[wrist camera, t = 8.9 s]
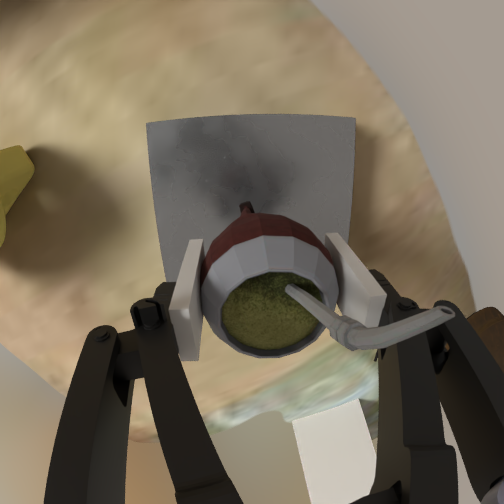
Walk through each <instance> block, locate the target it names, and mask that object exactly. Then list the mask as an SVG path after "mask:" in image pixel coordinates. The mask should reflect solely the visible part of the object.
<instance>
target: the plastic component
mask: <svg viewBox="0 0 504 504" xmlns="http://www.w3.org/2000/svg"><path fill="white" fill-rule="evenodd" d="M34 169H35V167H34V164H33V163H32V161H31V160H30V158H29V157H28V155H27V154H26V152H25V151H24V149H23V148H22V146H20V145H17V146H13V147H10V148H6V149H3V150H0V247H1V246H2V244H3V242H4V239H5V234H6V219H5V216H6V214H7V213H8V211H9V209H10V208H11V206H12V205H13V203H14V202H15V200H16V199H17V197H18V196H19V194H20V193H21V192H22V190H23V189H24V187H25V186H26V184H27V183H28V182H29V180H30V179H31V177H32V176H33V174H34Z"/></svg>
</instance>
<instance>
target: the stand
mask: <svg viewBox="0 0 504 504" xmlns="http://www.w3.org/2000/svg"><path fill="white" fill-rule="evenodd" d="M355 125H356V118H352V117H339V116H324V115H301V114H246V115H223V116H208V117H195V118H184V119H175V120H166V121H158V122H151V123H146V129H147V142H148V154H149V165H150V174H151V183H152V192H153V200H154V208H155V215H156V222H157V229H158V235H159V242H160V248H161V254H162V260H163V266H164V271H165V277H166V282H177V279H178V276H179V272H180V269H181V266H182V263H183V259H184V256H185V253H186V250H187V247H188V244H189V240H192V239H203V243H204V252H205V256H206V254H207V252H208V250H209V247H210V245H211V243H212V241H213V240H214V239H215V238H216V237H217V236H219V235H220V234H221V233H222V232H223V231H224V230H225V229H226V228H227V227H228V226H229V225H230V224H231V223H232V222H233V221H235V220H236V219H237V218H239V217H240V215H241V212H240V208H239V205H240V204H241V203H243V202H246V201H250V202H251V204H252V207H253V209H254V212H255V213H266V214H276V215H282V216H286V217H288V218H290V219H292V220H294V221H296V222H298V223H300V224H302V225H304V226H306V227H308V228H309V229H310V230H311V231H312V232H313V233H314V234H315V235H316V237H317V238H318V239H319V240H320V241H321V242H322V244H323V245H325V233H338V234H339V235H340V236H341V237H342V239H343V240H344V241H345V242H346V243H347V245H348V238H349V228H350V217H351V206H352V193H353V178H354V158H355Z"/></svg>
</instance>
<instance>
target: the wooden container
mask: <svg viewBox="0 0 504 504" xmlns="http://www.w3.org/2000/svg"><path fill="white" fill-rule="evenodd" d="M467 320H468V322H469V323H470V324H471V326H472V327H473V329H474V330H475V331H476V333H477V334H478V336H479V337H480V338H481V340H482V341H483V343H484V344H485V346H486V347H487V349H488V350H489V352H490V353H491V355H492V356H493V358H494V359H495V361H496V362H497V364H498V365H499V367H500V369H501V370H502V372H503V373H504V316H503V314H501V312H500V311H499V310H498V309H496V308H494V307H487V308H484V309H482V310H479V311H478V312H476V313H475V314H473V315H472V316H470V317H469V318H468V319H467ZM445 347H446V349H447V350H449V345H448V343H447V344H446V346H445Z"/></svg>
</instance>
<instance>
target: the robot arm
mask: <svg viewBox="0 0 504 504" xmlns="http://www.w3.org/2000/svg"><path fill="white" fill-rule="evenodd" d="M324 246H325V247H326V248H327V249H328V251H329V253H330V255H331V257H332V260H333V265H334V269H335V274H336V278H337V283H338V287H339V294H338V299H337V305H338V307H339V309H340V311H341V313H342V315H343V316H344V315H346V316H348V317H350V318H352V319H354V320H357V321H359V322H360V323H362V324H363V325H364V326H366V327H367V328H372V327H381V326H386V325H389V324H392V323H395V322H398V321H401V320H403V319H406V318H409V317H412V316H414V315H417V314H419V313H422V312H425V311H427V310H430V309H420V308H419V307H418V305H417V303H416V302H414V301H413V300H411V299H409V298H405V297H401V296H400V295H399V294H398V293H397V291H396V290H395V289H394V288H393V286H392V285H390V283H389V281H388V280H387V279H386V278H385V277H384V275H383V274H382V273H380V272H378V271H377V270H375V269H373V270H368V269H367V268H366V267H365V266H364V264H363V263H362V262H361V261H360V259H359V258H358V257H357V256H356V254H355V253H354V252H353V251H352V249H351V248H350V247H349V246H348V245H347V243H346V242H345V241H344V240H343V239H342V237H341V236H340V235H339V234H338V233H325V245H324ZM204 258H205V252H204V243H203V239H192V240H189V244H188V247H187V250H186V253H185V256H184V259H183V263H182V266H181V269H180V272H179V276H178V279H177V282H163V283H162V284H160V285H159V286H158V287H157V288H156V291H155V294H154V296H153V298H145V299H142V300H139V301H137V302H136V303H134V304H133V305H132V306H131V309H130V313H131V316H132V319H133V322H134V326H135V329H133V330H130V331H126V332H122V333H117V331H116V329H115V328H114V327H112V326H109V325H103V326H99V327H96V328H94V329H93V330H92V331H90V332H89V334H88V335H87V338H86V340H85V343H84V346H83V349H82V351H81V354H80V357H79V360H78V363H77V366H76V369H75V372H74V375H73V378H72V381H71V384H70V387H69V391H68V394H67V397H66V401H65V404H64V408H63V411H62V415H61V419H60V422H59V427H58V430H57V435H56V439H55V443H54V447H53V452H52V457H51V462H50V467H49V472H48V478H47V483H46V490H45V497H44V504H125V479H126V460H127V446H128V434H129V423H130V414H131V405H132V397H133V389H134V381H135V379H138V378H143V377H144V379H145V384H146V388H147V393H148V397H149V402H150V406H151V410H152V414H153V418H154V422H155V426H156V429H157V433H158V437H159V440H160V444H161V447H162V450H163V453H164V457H165V460H166V463H167V466H168V469H169V472H170V475H171V478H172V481H173V484H174V487H175V491H176V492H175V497H176V501H177V504H243V502H242V500H241V498H240V496H239V494H238V492H237V490H236V488H235V486H234V485H233V483H232V481H231V479H230V478H229V477H228V475H227V473H226V471H225V469H224V467H223V465H222V463H221V460H220V459H219V456H218V454H217V452H216V449H215V447H214V445H213V443H212V440H211V438H210V436H209V434H208V431H207V429H206V426H205V424H204V422H203V419H202V417H201V414H200V412H199V409H198V407H197V404H196V402H195V399H194V397H193V394H192V391H191V389H190V386H189V383H188V381H187V378H186V375H185V372H184V370H183V367H182V364H181V361H198V360H199V350H200V341H201V332H202V323H203V315H204V314H203V312H202V300H201V287H200V271H201V265H202V263H203V261H204ZM437 306H446V307H448V308H451V309H452V310H453V311H454V312H455V317H453V318H451V319H450V320H448V321H446V322H444V323H442V324H440V325H438V326H436V327H433V328H431V329H429V330H427V331H424V332H422V333H420V334H417V335H415V336H413V337H410V338H408V339H405V340H403V341H401V342H398V343H396V344H393V345H390V346H388V347H386V348H380V349H377V352H376V356H375V359H374V361H377V358H378V369H379V419H378V443H377V458H376V470H375V479H374V483H373V485H372V487H371V490H370V493H369V495H367V496H364V497H361V498H360V499H358V500H356V501H354V502H352V503H350V504H458V474H457V460H456V452H455V449H454V447H453V446H451V445H447V444H446V443H445V439H444V430H443V421H442V413H441V406H440V402H441V404H442V407H443V409H444V412H445V414H446V416H447V419H448V421H449V424H450V426H451V429H452V432H453V434H454V437H455V440H456V442H457V445H458V448H459V451H460V453H461V456H462V459H463V462H464V465H465V468H466V471H467V474H468V477H469V480H470V483H471V485H472V488H473V490H474V492H475V494H476V496H477V498H478V499H479V501H480V502H481V504H504V373H503V372H502V370H501V369H500V367H499V365H498V364H497V362H496V361H495V359H494V358H493V356H492V355H491V353H490V352H489V350H488V349H487V347H486V346H485V344H484V343H483V341H482V340H481V338H480V337H479V336H478V334H477V333H476V331H475V330H474V329H473V327H472V326H471V324H470V323H469V322H468V320H467V319H466V318H465V316H464V315H463V314H462V312H461V311H460V310H459V308H458V307H457V306H456V305H455V304H453V303H451V302H449V301H446V300H440V301H437V302H436V303H435V304H434V307H437ZM434 307H433V308H434ZM447 343H448V345H449V350H447V349H446V347H445V346H446V344H447ZM178 354H179V355H178ZM179 356H180V358H179ZM180 360H181V361H180Z"/></svg>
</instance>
